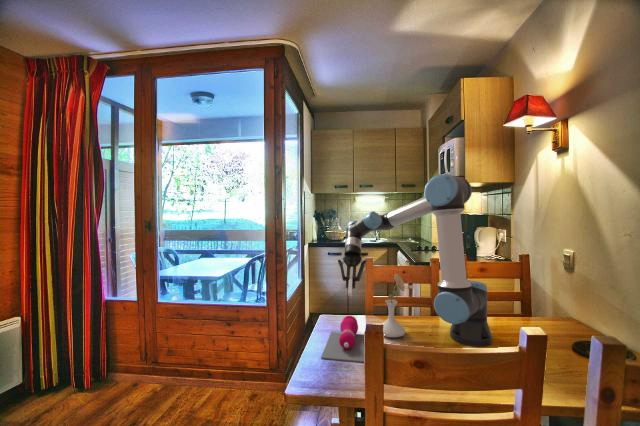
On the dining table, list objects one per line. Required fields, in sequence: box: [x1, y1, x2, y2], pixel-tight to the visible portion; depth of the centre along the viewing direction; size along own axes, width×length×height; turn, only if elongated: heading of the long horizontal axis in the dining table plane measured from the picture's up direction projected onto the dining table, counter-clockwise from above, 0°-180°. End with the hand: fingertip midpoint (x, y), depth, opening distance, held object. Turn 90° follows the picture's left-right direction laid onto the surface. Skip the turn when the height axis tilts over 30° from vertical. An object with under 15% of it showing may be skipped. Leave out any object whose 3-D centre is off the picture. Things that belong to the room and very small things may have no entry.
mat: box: [320, 331, 365, 364], centre depth 114 cm, size 22×16×1 cm
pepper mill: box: [339, 315, 359, 349], centre depth 117 cm, size 7×7×20 cm
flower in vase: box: [381, 273, 407, 338], centre depth 126 cm, size 13×11×25 cm
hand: (349, 294), depth 124 cm, fingers closed
